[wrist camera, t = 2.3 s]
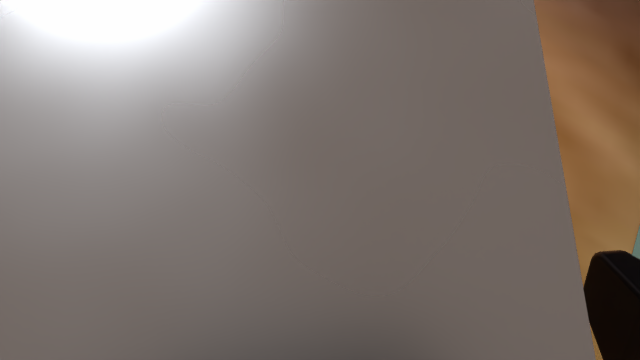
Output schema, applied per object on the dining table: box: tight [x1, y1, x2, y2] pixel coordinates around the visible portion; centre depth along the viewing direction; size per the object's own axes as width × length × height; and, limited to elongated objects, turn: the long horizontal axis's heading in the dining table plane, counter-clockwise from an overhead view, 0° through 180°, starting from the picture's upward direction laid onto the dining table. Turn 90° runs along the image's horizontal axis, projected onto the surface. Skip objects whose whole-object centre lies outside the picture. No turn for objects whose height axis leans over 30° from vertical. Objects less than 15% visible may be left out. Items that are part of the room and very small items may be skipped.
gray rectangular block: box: [0, 0, 596, 360], centre depth 11 cm, size 4×4×13 cm
